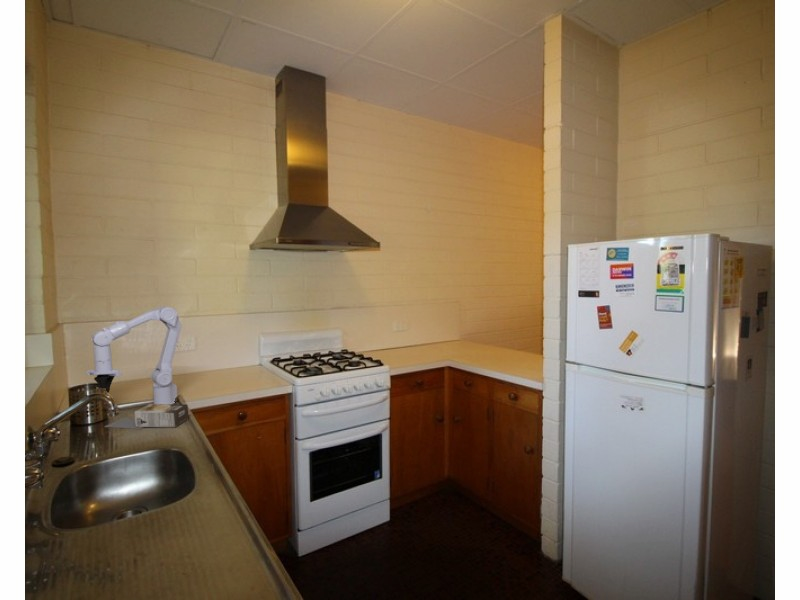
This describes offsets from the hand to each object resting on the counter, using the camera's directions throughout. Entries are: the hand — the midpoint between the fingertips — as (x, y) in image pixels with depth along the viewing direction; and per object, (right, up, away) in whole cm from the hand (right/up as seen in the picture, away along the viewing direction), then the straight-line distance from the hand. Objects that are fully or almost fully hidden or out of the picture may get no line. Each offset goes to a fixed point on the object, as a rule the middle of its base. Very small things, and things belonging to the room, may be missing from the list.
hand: (105, 392), depth 170 cm
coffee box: (+19, -7, -7) cm, 22 cm away
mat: (+15, -11, -7) cm, 20 cm away
